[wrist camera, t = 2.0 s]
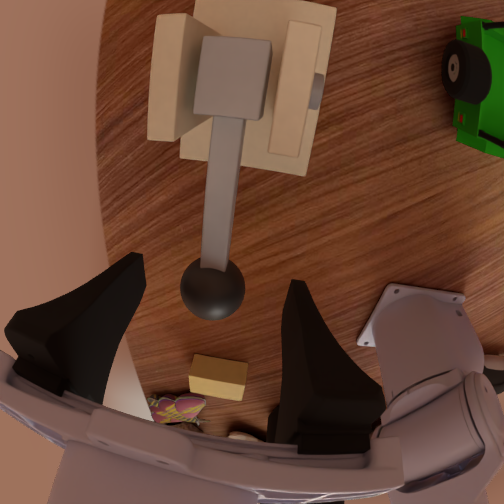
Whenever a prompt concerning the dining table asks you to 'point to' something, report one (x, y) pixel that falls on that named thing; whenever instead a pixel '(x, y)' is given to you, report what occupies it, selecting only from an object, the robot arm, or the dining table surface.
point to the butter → (218, 377)
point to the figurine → (494, 371)
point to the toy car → (477, 83)
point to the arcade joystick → (224, 164)
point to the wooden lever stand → (279, 86)
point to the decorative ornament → (177, 408)
